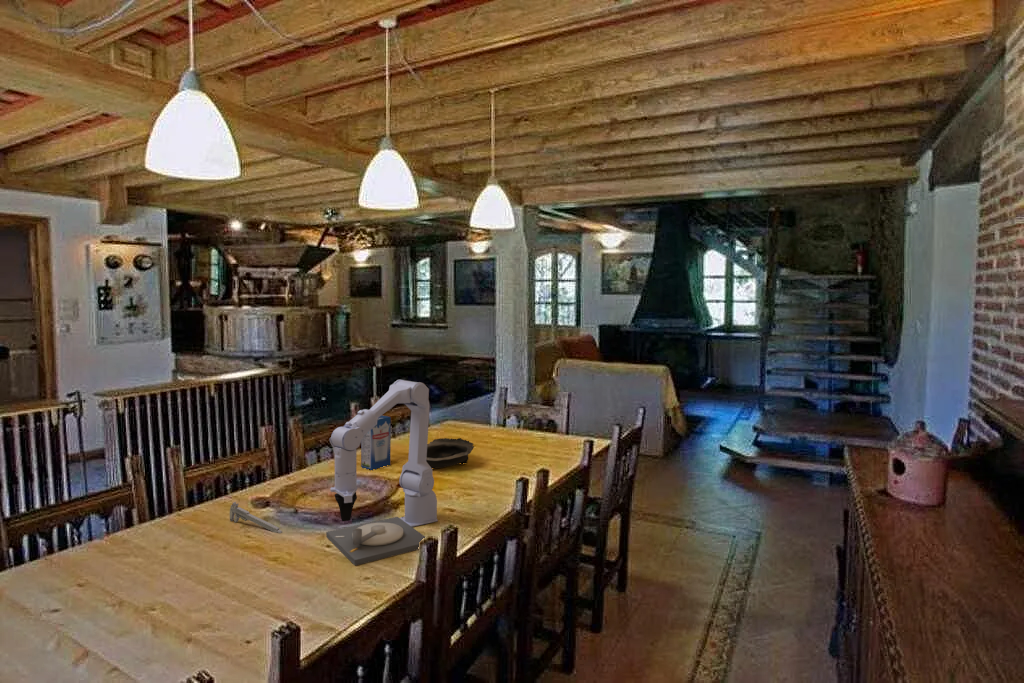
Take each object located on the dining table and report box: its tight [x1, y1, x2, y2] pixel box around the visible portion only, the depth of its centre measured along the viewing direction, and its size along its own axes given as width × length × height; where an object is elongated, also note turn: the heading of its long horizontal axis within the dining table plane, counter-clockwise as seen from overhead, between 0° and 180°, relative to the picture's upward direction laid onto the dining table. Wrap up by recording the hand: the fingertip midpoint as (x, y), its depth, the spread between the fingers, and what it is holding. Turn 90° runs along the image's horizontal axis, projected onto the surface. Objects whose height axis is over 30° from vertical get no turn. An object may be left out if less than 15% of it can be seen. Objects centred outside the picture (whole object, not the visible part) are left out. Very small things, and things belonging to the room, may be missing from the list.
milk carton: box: [360, 414, 392, 471], centre depth 242 cm, size 10×6×20 cm, turn 143°
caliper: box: [229, 501, 283, 534], centre depth 178 cm, size 20×1×6 cm, turn 65°
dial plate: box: [325, 516, 426, 567], centre depth 169 cm, size 22×22×2 cm
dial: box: [352, 523, 403, 546], centre depth 168 cm, size 17×14×5 cm
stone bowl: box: [426, 437, 475, 469], centre depth 246 cm, size 25×25×9 cm
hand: (345, 520), depth 164 cm, fingers closed
